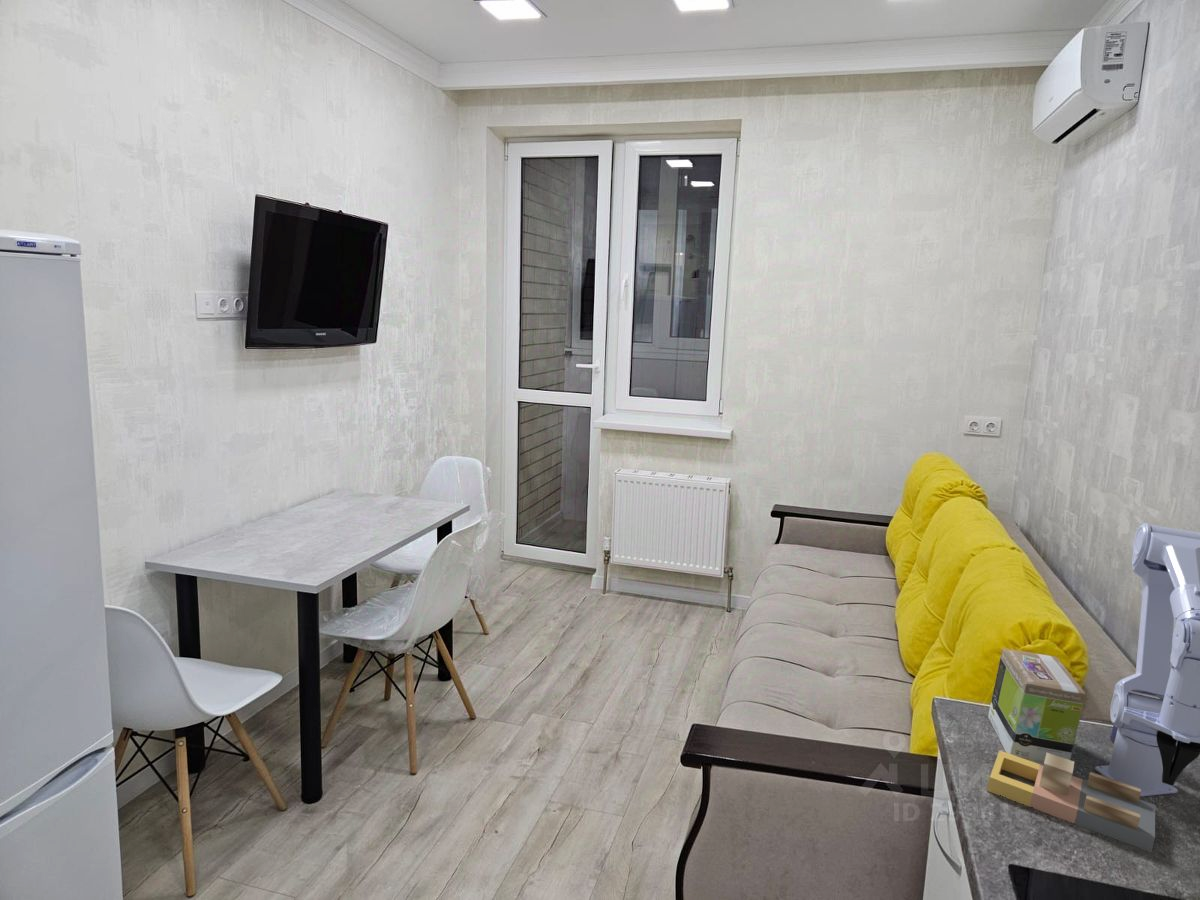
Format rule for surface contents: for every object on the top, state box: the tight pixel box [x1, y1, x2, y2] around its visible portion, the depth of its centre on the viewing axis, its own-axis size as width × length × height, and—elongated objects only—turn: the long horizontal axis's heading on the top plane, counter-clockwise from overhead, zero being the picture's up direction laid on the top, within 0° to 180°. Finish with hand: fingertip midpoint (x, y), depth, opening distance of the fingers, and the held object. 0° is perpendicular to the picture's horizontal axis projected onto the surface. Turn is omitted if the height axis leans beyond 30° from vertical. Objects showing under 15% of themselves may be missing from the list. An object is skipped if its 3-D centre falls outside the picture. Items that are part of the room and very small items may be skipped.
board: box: [986, 750, 1156, 853], centre depth 130 cm, size 22×10×2 cm, turn 56°
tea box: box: [987, 648, 1086, 766], centre depth 147 cm, size 15×10×15 cm, turn 168°
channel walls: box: [1084, 771, 1141, 829], centre depth 127 cm, size 7×9×2 cm
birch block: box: [1039, 753, 1075, 796], centre depth 131 cm, size 4×4×4 cm
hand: (1167, 781), depth 122 cm, fingers closed
